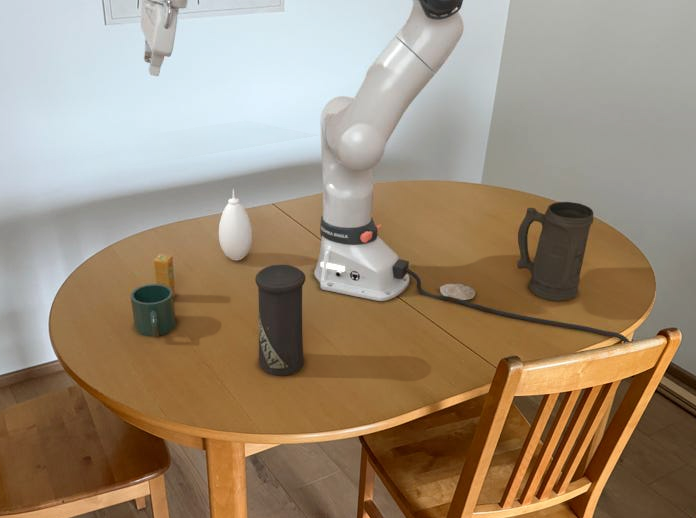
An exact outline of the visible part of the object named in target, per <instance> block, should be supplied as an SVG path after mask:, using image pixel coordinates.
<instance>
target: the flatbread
mask: <svg viewBox="0 0 696 518" xmlns="http://www.w3.org/2000/svg"><path fill="white" fill-rule="evenodd" d="M439 292H440V294H441V296H448V297H453V298H457V299H460V300H463V301H468V300H472V299H474V298H475V297H476V290H475V289H474V288H472V287H470V285H466V284H464V283H446V284H444V285H441V286H440V287H439Z"/></svg>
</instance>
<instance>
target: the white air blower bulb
mask: <svg viewBox="0 0 696 518" xmlns="http://www.w3.org/2000/svg"><path fill="white" fill-rule="evenodd" d="M240 202H241V201H240V199H239V198H237V197H236V196H235V188H232V197H231V198H229V199H228V201H227V203H226V206H225V207H224V209H223V210H222V214H221V216H220V220H219V225H218V241H219V245H220V248H221V250H222V252H223V253H224V255H225V256H226V257H227V258H229V259H230V260H232V261H235V262H236V261H237V262H238V261H240V260H243V259H244V258H245V257H247V256H248V254H249V252H250V250H251V247H252V243H253V228H252V224H251V219H250V217H249V215H248V213H247V211H246V209H245V207H244V206H243V204H242V203H240Z"/></svg>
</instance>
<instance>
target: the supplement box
mask: <svg viewBox="0 0 696 518" xmlns="http://www.w3.org/2000/svg"><path fill="white" fill-rule="evenodd" d="M173 257H174V256H173V255H171V254H165V253H158V255H157V256H156V257H155V258H154V259H153V271H154V278H155V279H154V282H155V284H161V285H165V286H168V287H169V288H171V289H172V291H173V298H175V295H176V291H175V290H176V289H175V288H176V287H175V275H174V274H175V273H174V260H173V259H174V258H173Z"/></svg>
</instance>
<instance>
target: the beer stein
mask: <svg viewBox="0 0 696 518" xmlns="http://www.w3.org/2000/svg"><path fill="white" fill-rule="evenodd" d="M534 222H538V223H540V224H541V232H540V235H539V237H538V242H537V247H536V251H535V256H534V260H533V261H532V260H531V259H530V254H529V243H528V242H529V241H528V235H529V229H530V226H531V224H533V223H534ZM593 223H594V211H593V209H592V208H591V207H589V206H587V205H585V204H582V203H580V202H571V201H558V202H557V201H556V202H552V203H551V204H549V205H548V206H547V209H546V211H545V212H544V213H542V212H540V211H538V210H537V209H536V208H535V207H527V209H526V213H525V216H524V218H523V220H522V222H521V223H520V225H519V228H518V232H517V244H518V249H519V254H520V258H519V260H518V261H517V263H516V268H517V269H525V270H528V271H529V272H530V274H531V278H530V280H529V282H528V288H529V291H530V292H531V293H532V294H534V295H535V296H536V297H538V298H541V299H545V300H548V301H555V302H564V301H569V300H572V299H574V298H575V297H577V294H578V289H579V287H578V286H579V284H580V283H581V279H580V276H581V271H582V267H583V262H584V258H585V253H586V247H587V242H588V238H589V234H590V229H591V225H593Z"/></svg>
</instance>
